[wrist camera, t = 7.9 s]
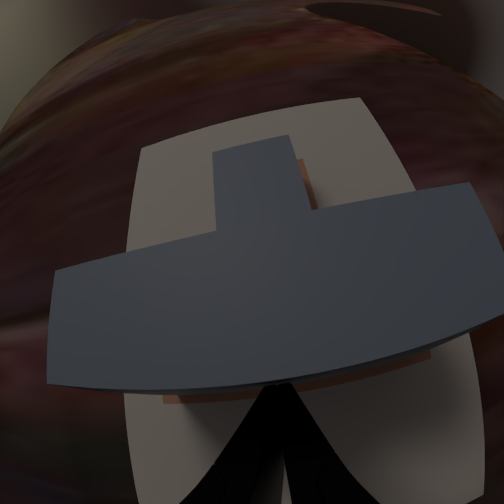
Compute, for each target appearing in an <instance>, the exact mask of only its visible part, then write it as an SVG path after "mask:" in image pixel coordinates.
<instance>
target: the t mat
mask: <svg viewBox="0 0 504 504" xmlns="http://www.w3.org/2000/svg"><path fill="white" fill-rule="evenodd" d="M288 134H289V137H290V140H291V143H292V146H293V149H294V152H295V156H296V159H297V162H298V165H299V168H300V172H301V175H302V178H303V181H304V185H305V188H306V192H307V195H308V198H309V202H310V205H311V209H312V210H316V209H321V208H326V207H331V206H336V205H341V204H346V203H352V202H357V201H362V200H368V199H373V198H378V197H384V196H390V195H395V194H401V193H407V192H412V191H416V190H415V188H414V186H413V184H412V182H411V180H410V178H409V176H408V174H407V173H406V171H405V169H404V167H403V165H402V163H401V162H400V160H399V158H398V156H397V155H396V153H395V151H394V149H393V148H392V146H391V144H390V143H389V141H388V139H387V138H386V136H385V135H384V133H383V131H382V130H381V128H380V127H379V125H378V124H377V122H376V120H375V119H374V117H373V116H372V114H371V113H370V112H369V110H368V109H367V107H366V106H365V104H364V103H363V101H362V100H361V99H360V98H351V99H343V100H335V101H327V102H321V103H314V104H308V105H302V106H296V107H291V108H285V109H280V110H275V111H270V112H266V113H261V114H256V115H252V116H248V117H244V118H239V119H235V120H232V121H228V122H224V123H220V124H216V125H213V126H209V127H206V128H202V129H199V130H195V131H192V132H189V133H186V134H183V135H179V136H176V137H173V138H170V139H167V140H164V141H161V142H158V143H156V144H153V145H150V146H147V147H144V148H142V149H141V154H140V159H139V164H138V170H137V175H136V181H135V187H134V193H133V200H132V207H131V214H130V222H129V230H128V239H127V249H126V252H129V251H133V250H137V249H141V248H145V247H149V246H153V245H157V244H162V243H166V242H170V241H174V240H178V239H183V238H187V237H191V236H195V235H200V234H204V233H208V232H213V231H216V216H215V199H214V181H213V160H212V152H215V151H219V150H223V149H227V148H230V147H234V146H239V145H243V144H247V143H251V142H255V141H260V140H264V139H269V138H274V137H278V136H283V135H288ZM292 385H293V387H294V388H295V390H296V392H297V393H298V395H299V396H300V398H301V400H302V401H303V403H304V404H305V406H306V407H307V409H308V411H309V412H310V414H311V415H312V417H313V418H314V420H315V422H316V423H317V425H318V426H319V428H320V429H321V431H322V432H323V434H324V435H325V437H326V439H327V440H328V442H329V443H330V445H331V446H332V448H333V449H334V451H335V453H337V455H338V456H339V458H340V459H341V461H342V462H343V464H344V465H345V466H346V468H347V469H348V470H349V472H350V473H351V474H352V475H353V476H354V477H355V479H356V480H357V481H358V482H359V483H360V484H361V485H362V486H363V487H364V488H365V489H366V490H367V491H368V492H369V493H370V494H371V495H372V496H373V497H374V498H375V499H376V500H377V501H378V502H379V503H380V504H467V503H469V502H471V501H472V500H474V499H476V498H478V497H480V496H481V495H483V492H484V471H485V449H484V427H483V415H482V405H481V397H480V389H479V382H478V376H477V370H476V365H475V360H474V355H473V350H472V345H471V341H470V336H469V333H467V334H464V335H462V336H460V337H458V338H456V339H453V340H451V341H449V342H446V343H444V344H442V345H439V346H437V347H434V348H432V349H429V350H427V351H424V352H421V353H419V354H416V355H413V356H410V357H407V358H404V359H400V360H397V361H393V362H390V363H386V364H383V365H379V366H376V367H372V368H368V369H364V370H360V371H356V372H352V373H347V374H343V375H338V376H334V377H329V378H324V379H319V380H314V381H308V382H303V383H297V384H292ZM261 390H262V389H255V390H246V391H237V392H226V393H213V394H196V395H147V394H128V393H124V401H125V414H126V424H127V433H128V442H129V449H130V456H131V463H132V469H133V475H134V481H135V486H136V491H137V496H138V501H139V504H179V503H180V502H181V501H182V500H183V499H184V498H185V497H186V496H187V495H188V494H189V493H190V492H191V491H192V490H193V489H194V488H195V487H196V485H197V484H198V483H199V482H200V481H201V479H202V478H203V477H204V475H205V474H206V473H207V472H208V470H209V469H210V467H211V466H212V465H213V464H214V462H215V460H216V459H217V458H218V456H219V455H220V453H221V452H222V450H223V449H224V447H225V446H226V445H227V443H228V442H229V440H230V439H231V437H232V436H233V434H234V433H235V431H236V430H237V428H238V427H239V425H240V424H241V422H242V420H243V419H244V417H245V416H246V414H247V413H248V411H249V409H250V408H251V406H252V405H253V403H254V402H255V400H256V398H257V397H258V395H259V393H260V392H261ZM281 504H292V502H291V496H290V491H289V485H288V479H287V474H286V468H285V466H284V478H283V490H282V501H281Z"/></svg>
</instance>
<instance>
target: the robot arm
mask: <svg viewBox="0 0 504 504" xmlns="http://www.w3.org/2000/svg"><path fill="white" fill-rule="evenodd" d="M284 466H285V468H286V474H287V479H288V485H289V491H290V496H291V502H292V504H380V503H379V502H378V501H377V500H376V499H375V498H374V497H373V496H372V495H371V494H370V493H369V492H368V491H367V490H366V489H365V488H364V487H363V486H362V485H361V484H360V483H359V482H358V481H357V480H356V479H355V477H354V476H353V475H352V474H351V473H350V472H349V470H348V469H347V468H346V466H345V465H344V464H343V462H342V461H341V459H340V458H339V456H338V455H337V453H335V451H334V449H333V448H332V446H331V445H330V443H329V442H328V440H327V439H326V437H325V435H324V434H323V432H322V431H321V429H320V428H319V426H318V425H317V423H316V422H315V420H314V418H313V417H312V415H311V414H310V412H309V411H308V409H307V407H306V406H305V404H304V403H303V401H302V400H301V398H300V396H299V395H298V393H297V392H296V390H295V388H294V387H293V385H292V384H291V383H290V382H287V383H280V384H278V386H277V385H276V384H273V385H266V386H264V387H263V389H262V390H261V392H260V393H259V395H258V397H257V398H256V400H255V402H254V403H253V405H252V406H251V408H250V409H249V411H248V413H247V414H246V416H245V417H244V419H243V420H242V422H241V424H240V425H239V427H238V428H237V430H236V431H235V433H234V434H233V436H232V437H231V439H230V440H229V442H228V443H227V445H226V446H225V447H224V449H223V450H222V452H221V453H220V455H219V456H218V458H217V459H216V460H215V462H214V464H213V465H212V466H211V467H210V469H209V470H208V472H207V473H206V474H205V475H204V477H203V478H202V479H201V481H200V482H199V483H198V484H197V485H196V487H195V488H194V489H193V490H192V491H191V492H190V493H189V494H188V495H187V496H186V497H185V498H184V499H183V500H182V501H181V502H180V503H179V504H281V501H282V490H283V478H284Z"/></svg>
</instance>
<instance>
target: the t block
mask: <svg viewBox="0 0 504 504" xmlns="http://www.w3.org/2000/svg"><path fill="white" fill-rule="evenodd" d="M212 160H213V181H214V199H215V216H216V231H213V232H208V233H204V234H200V235H195V236H191V237H187V238H183V239H178V240H174V241H170V242H166V243H162V244H157V245H153V246H149V247H145V248H141V249H137V250H133V251H129V252H125V253H121V254H117V255H113V256H109V257H105V258H102V259H98V260H94V261H90V262H86V263H83V264H79V265H75V266H71V267H68V268H64V269H60V270H57V271H55V277H54V284H53V291H52V299H51V307H50V317H49V329H48V346H47V384H52V385H58V386H64V387H71V388H78V389H86V390H95V391H104V392H115V393H128V394H147V395H196V394H213V393H226V392H237V391H246V390H255V389H263V387H264V386H266V385H273V384H276V385H277V386H278V384H280V383H287V382H290V383H291V384H297V383H303V382H308V381H314V380H319V379H324V378H329V377H334V376H338V375H343V374H347V373H352V372H356V371H360V370H364V369H368V368H372V367H376V366H379V365H383V364H386V363H390V362H393V361H397V360H400V359H404V358H407V357H410V356H413V355H416V354H419V353H421V352H424V351H427V350H429V349H432V348H434V347H437V346H439V345H442V344H444V343H446V342H449V341H451V340H453V339H456V338H458V337H460V336H462V335H464V334H467V333H469V332H471V331H473V330H475V329H477V328H479V327H481V326H483V325H485V324H487V323H489V322H491V321H493V320H495V319H497V318H499V317H501V316H503V315H504V252H503V250H502V247H501V245H500V242H499V240H498V238H497V235H496V233H495V231H494V229H493V227H492V225H491V222H490V220H489V218H488V216H487V214H486V212H485V210H484V208H483V206H482V204H481V202H480V200H479V199H478V197H477V195H476V193H475V191H474V189H473V188H472V186H471V184H470V182H468V183H461V184H455V185H448V186H442V187H436V188H430V189H424V190H418V191H412V192H407V193H401V194H395V195H390V196H384V197H378V198H373V199H368V200H362V201H357V202H352V203H346V204H341V205H336V206H331V207H326V208H321V209H316V210H312V209H311V205H310V202H309V198H308V195H307V192H306V188H305V185H304V181H303V178H302V175H301V172H300V168H299V165H298V162H297V159H296V156H295V152H294V149H293V146H292V143H291V140H290V137H289V134H288V135H283V136H278V137H274V138H269V139H264V140H260V141H255V142H251V143H247V144H243V145H239V146H234V147H230V148H227V149H223V150H219V151H215V152H212Z"/></svg>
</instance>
